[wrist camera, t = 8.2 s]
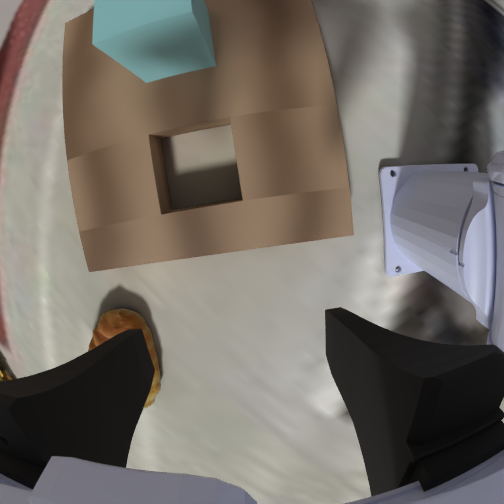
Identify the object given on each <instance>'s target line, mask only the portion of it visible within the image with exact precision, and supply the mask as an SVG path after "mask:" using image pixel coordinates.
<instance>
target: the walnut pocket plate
mask: <svg viewBox="0 0 504 504" xmlns="http://www.w3.org/2000/svg"><path fill="white" fill-rule="evenodd" d="M204 1H205V3H206V6H207V9H208V13H209V20H210V27H211V34H212V41H213V48H214V55H215V62H216V66H215V67H210V68H205V69H200V70H195V71H191V72H186V73H182V74H178V75H174V76H170V77H166V78H162V79H159V80H155V81H152V82H148V83H146V82H144V81H143V80H142V79H140V78H139V77H138V76H136V75H135V74H134V73H132V72H131V71H129V70H128V69H127V68H125V67H124V66H122V65H121V64H120V63H118V62H117V61H115V60H114V59H113V58H111V57H110V56H108V55H107V54H105V53H104V52H103V51H101V50H100V49H98V48H97V47H95V46H94V45H92V40H93V17H94V9H93V10H91V11H89V12H87V13H85V14H82V15H80V16H78V17H76V18H74V19H72V20H71V21H69V22H67V23H65V33H64V47H63V117H64V133H65V144H66V154H67V163H68V171H69V178H70V185H71V191H72V197H73V203H74V208H75V214H76V219H77V224H78V228H79V233H80V238H81V242H82V246H83V250H84V254H85V258H86V262H87V266H88V270H89V272H93V271H100V270H107V269H114V268H121V267H128V266H135V265H142V264H149V263H156V262H163V261H170V260H177V259H185V258H192V257H199V256H206V255H213V254H220V253H227V252H235V251H242V250H249V249H256V248H263V247H271V246H278V245H285V244H292V243H300V242H307V241H314V240H321V239H329V238H336V237H343V236H351V235H354V231H353V219H352V208H351V198H350V189H349V180H348V172H347V164H346V157H345V150H344V143H343V137H342V130H341V124H340V118H339V113H338V107H337V102H336V97H335V92H334V87H333V82H332V77H331V73H330V68H329V64H328V60H327V55H326V51H325V47H324V43H323V39H322V36H321V32H320V28H319V24H318V21H317V17H316V14H315V10H314V7H313V4H312V1H311V0H204ZM230 124H231V128H232V134H233V141H234V147H235V154H236V160H237V167H238V173H239V179H240V186H241V192H242V198H240V199H234V200H227V201H221V202H215V203H209V204H203V205H197V206H191V207H186V208H180V209H174V210H172V205H171V199H170V193H169V187H168V181H167V175H166V169H165V162H164V156H163V149H162V142H161V139H162V138H166V137H171V136H175V135H179V134H184V133H188V132H193V131H198V130H203V129H208V128H214V127H219V126H225V125H230Z"/></svg>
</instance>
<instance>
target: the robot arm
mask: <svg viewBox="0 0 504 504" xmlns="http://www.w3.org/2000/svg"><path fill="white" fill-rule="evenodd" d="M464 168H465V169H466V172H464ZM391 170H393V171H394V176H393V177H392V176H391V175H390V172H391ZM487 172H488V173H479V172H478V167H477V165H476V164H429V165H406V166H389V167H382V168H381V169H380V171H379V179H380V189H381V200H382V213H383V229H384V253H385V273H386V274H387V275H388V276H390V277H393V276H398V275H404V274H409V273H414V272H419V271H426V272H427V273H429V274H430V275H432V276H433V277H435V278H436V279H438V280H439V281H441V282H442V283H444V284H445V285H447V286H448V287H450V288H451V289H452V290H454V291H455V292H457V293H458V294H460V295H461V296H462V297H464V298H465V299H467V300H468V301H469V302H471V303H472V304H473V305H474V306H475V309H476V314H477V316H476V319H477V320H478V321H479V322H480V323H482V324H483V325H484V326H485V327H486V328H488V329H490V330H489V333H488V339H487V345H470V346H466V345H449V344H440V343H434V342H428V341H423V340H418V339H414V338H411V337H407V336H404V335H401V334H398V333H395V332H392V331H390V330H387V329H385V328H382V327H380V326H378V325H376V324H374V323H371V322H369V321H367V320H365V319H363V318H361V317H359V316H358V315H356V314H354V313H352V312H350V311H348V310H346V309H343V308H341V307H340V308H334V309H327V310H325V324H326V356H327V360H328V364H329V367H330V370H331V374H332V376H333V378H334V381H335V383H336V385H337V387H338V389H339V392H340V394H341V396H342V398H343V400H344V402H345V405H346V407H347V409H348V411H349V413H350V416H351V418H352V421H353V423H354V427H355V430H356V433H357V437H358V440H359V444H360V447H361V451H362V455H363V459H364V463H365V467H366V472H367V476H368V481H369V485H370V490H371V496H372V497H368V498H365V499H361V500H357V501H353V502H349V503H345V504H504V423H503V422H502V421H501V420H502V419H503V418H504V412H503V411H502V410H501V409H500V408H499V406H500V404H501V402H502V400H503V398H504V151H500V152H497V153H496V154H495V156H494V158H493V159H492V161H491V162H489V163H488V165H487ZM397 266H399V270H398V271H395V269H396V267H397ZM154 373H155V368H154V365H153V362H152V359H151V356H150V353H149V350H148V347H147V344H146V340H145V337H144V334H143V331H142V329H128V330H125V331H123V332H121V333H119V334H117V335H115V336H114V337H112V338H110V339H109V340H107V341H105V342H104V343H102V344H100V345H99V346H97V347H95V348H93V349H92V350H90V351H88V352H86V353H84V354H83V355H81V356H79V357H77V358H75V359H73V360H71V361H69V362H67V363H65V364H63V365H60V366H58V367H56V368H53V369H50V370H47V371H44V372H41V373H38V374H35V375H31V376H28V377H23V378H19V379H13V380H7V381H0V504H257V502H256V501H255V500H254V499H253V498H252V497H251V496H250V495H249V494H248V493H247V492H246V491H245V490H244V489H242V488H240V487H238V486H235V485H232V484H230V483H227V482H224V481H222V480H219V479H216V478H211V477H203V476H196V475H190V474H181V473H166V472H155V471H145V470H137V469H130V468H126V464H127V458H128V453H129V449H130V445H131V440H132V437H133V434H134V431H135V428H136V425H137V423H138V420H139V418H140V415H141V413H142V410H143V408H144V405H145V403H146V400H147V398H148V395H149V393H150V390H151V386H152V382H153V377H154Z"/></svg>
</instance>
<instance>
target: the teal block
mask: <svg viewBox="0 0 504 504" xmlns="http://www.w3.org/2000/svg"><path fill="white" fill-rule="evenodd" d="M92 45H94V46H95V47H97V48H98V49H100V50H101V51H103V52H104V53H105V54H107V55H108V56H110V57H111V58H113V59H114V60H115V61H117V62H118V63H120V64H121V65H122V66H124V67H125V68H127V69H128V70H129V71H131V72H132V73H134V74H135V75H136V76H138V77H139V78H140V79H142V80H143V81H144V82H146V83H148V82H152V81H155V80H159V79H162V78H166V77H170V76H174V75H178V74H182V73H186V72H191V71H195V70H200V69H205V68H210V67H215V66H216V62H215V55H214V48H213V41H212V34H211V27H210V20H209V13H208V9H207V6H206V3H205V1H204V0H95V3H94V17H93V40H92Z"/></svg>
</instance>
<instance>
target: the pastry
mask: <svg viewBox="0 0 504 504" xmlns="http://www.w3.org/2000/svg"><path fill="white" fill-rule="evenodd" d="M128 329H142V331H143V334H144V337H145V340H146V344H147V347H148V350H149V353H150V356H151V359H152V362H153V365H154V368H155V373H154V377H153V382H152V386H151V390H150V393H149V395H148V398H147V400H146V403H145V405H144V408H147V407H148V406H151V405H152V404H153V403H154V400H155V397H156V395H157V394H158V392H159V390H160V387H161V384H160V369H159V363H158V357H157V353H156V350H155V346H154V341H153V337H152V333H151V330H150V328H149V327H148V325H147V323H146V321H145V319H144V318H143V317H142V316H141V315H140V314H139V313H137V312H135V311H131V310H129V309H125V308H120V309H115V310H110V311H108V312H106V313H104V314H102V315H101V316H100V319H99V321H98V324H97V326H96V328H95V329H94V331H93V337H92V340H91V342H90V345H89V350H88V351H90V350H92V349H93V348H95V347H97V346H99V345H100V344H102V343H104V342H105V341H107V340H109V339H110V338H112V337H114V336H115V335H117V334H119V333H121V332H123V331H125V330H128ZM144 408H143V409H144Z"/></svg>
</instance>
